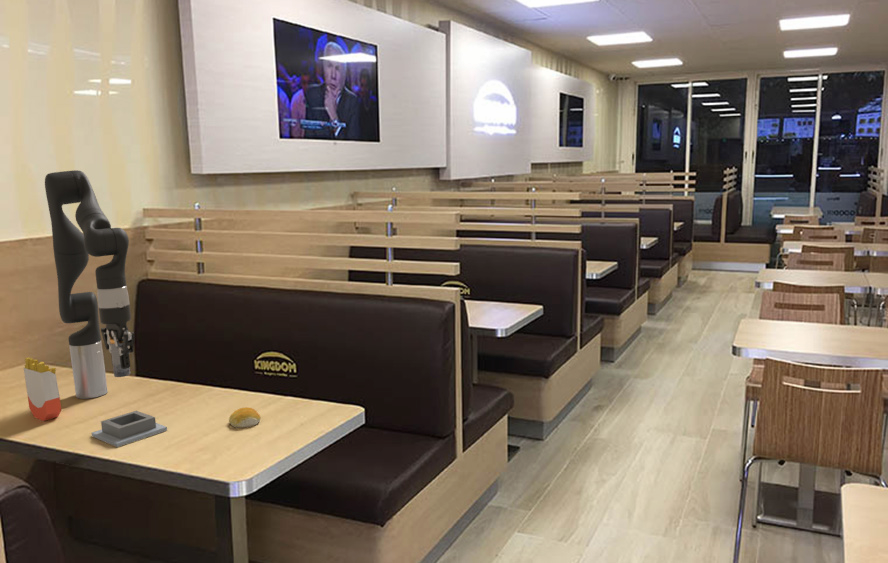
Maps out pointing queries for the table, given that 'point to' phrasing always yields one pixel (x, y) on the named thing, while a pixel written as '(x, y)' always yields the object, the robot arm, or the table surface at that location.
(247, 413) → the bread roll
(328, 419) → the table surface
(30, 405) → the french fries container
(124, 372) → the cylinder
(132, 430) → the socket
